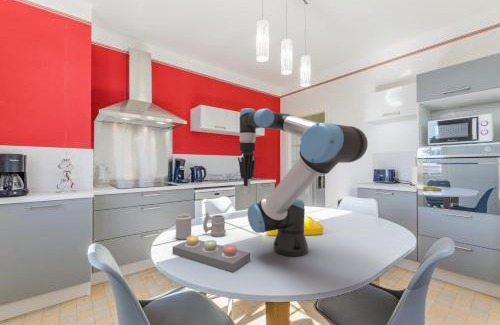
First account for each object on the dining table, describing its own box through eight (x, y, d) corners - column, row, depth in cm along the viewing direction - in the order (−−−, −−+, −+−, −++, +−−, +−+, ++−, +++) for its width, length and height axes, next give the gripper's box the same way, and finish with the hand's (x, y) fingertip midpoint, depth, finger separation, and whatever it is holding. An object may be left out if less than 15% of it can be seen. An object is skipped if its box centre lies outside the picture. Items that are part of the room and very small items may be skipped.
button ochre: (200, 241, 103) (200, 237, 103) (192, 245, 99) (192, 240, 99) (192, 239, 105) (192, 235, 105) (183, 243, 101) (184, 238, 101)
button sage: (218, 246, 98) (219, 241, 98) (211, 250, 93) (211, 245, 93) (209, 244, 100) (209, 239, 100) (201, 247, 96) (201, 242, 96)
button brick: (239, 251, 92) (239, 246, 92) (231, 255, 88) (231, 250, 88) (228, 248, 95) (228, 243, 95) (221, 252, 91) (221, 247, 91)
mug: (224, 237, 122) (225, 214, 122) (201, 237, 121) (201, 213, 121) (225, 232, 129) (226, 210, 129) (204, 232, 129) (204, 210, 129)
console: (250, 260, 94) (250, 252, 94) (232, 272, 84) (232, 263, 84) (193, 245, 110) (193, 238, 110) (172, 253, 100) (172, 246, 100)
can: (183, 241, 115) (183, 216, 115) (172, 238, 119) (172, 214, 119) (194, 237, 121) (194, 213, 121) (184, 234, 125) (184, 211, 125)
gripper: (247, 143, 118) (247, 190, 119) (232, 141, 107) (232, 193, 108) (261, 143, 115) (260, 191, 115) (246, 141, 103) (246, 195, 104)
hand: (246, 192), depth 111 cm, fingers closed
